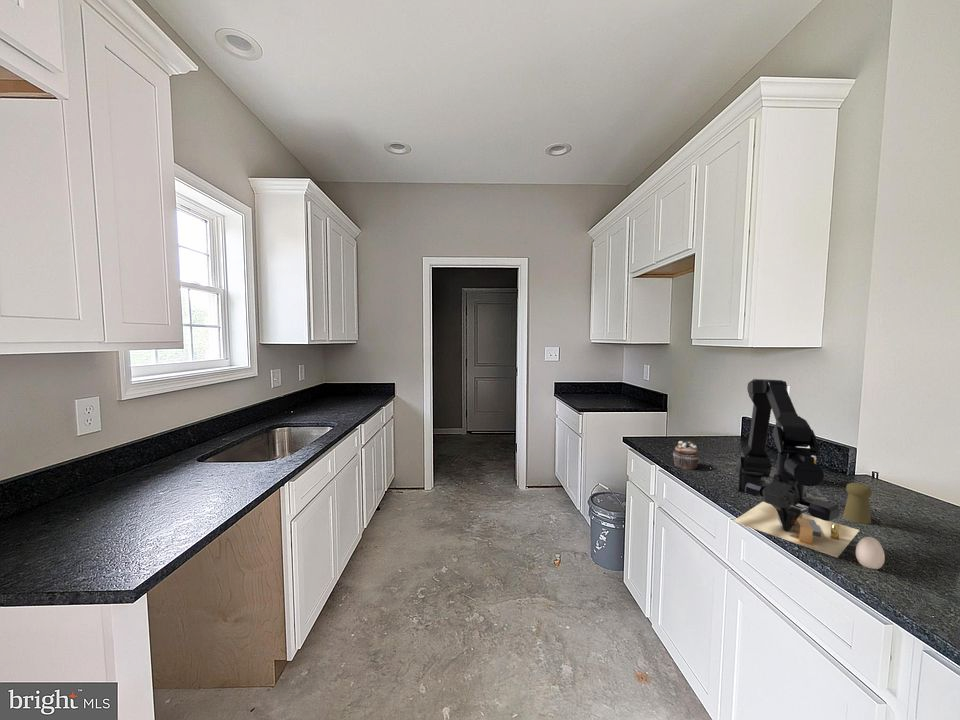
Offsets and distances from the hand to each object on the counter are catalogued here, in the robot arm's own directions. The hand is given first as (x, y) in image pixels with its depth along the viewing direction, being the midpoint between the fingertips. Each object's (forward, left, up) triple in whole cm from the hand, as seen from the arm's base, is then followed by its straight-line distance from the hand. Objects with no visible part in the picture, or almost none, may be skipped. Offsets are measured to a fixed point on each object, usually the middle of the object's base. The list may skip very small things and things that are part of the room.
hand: (786, 531), depth 102 cm
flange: (+1, +5, -1) cm, 5 cm away
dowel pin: (+8, +8, -1) cm, 11 cm away
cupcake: (-43, +36, -2) cm, 57 cm away
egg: (+16, -1, -2) cm, 16 cm away
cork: (+9, +27, -2) cm, 28 cm away
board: (0, +8, -2) cm, 8 cm away
